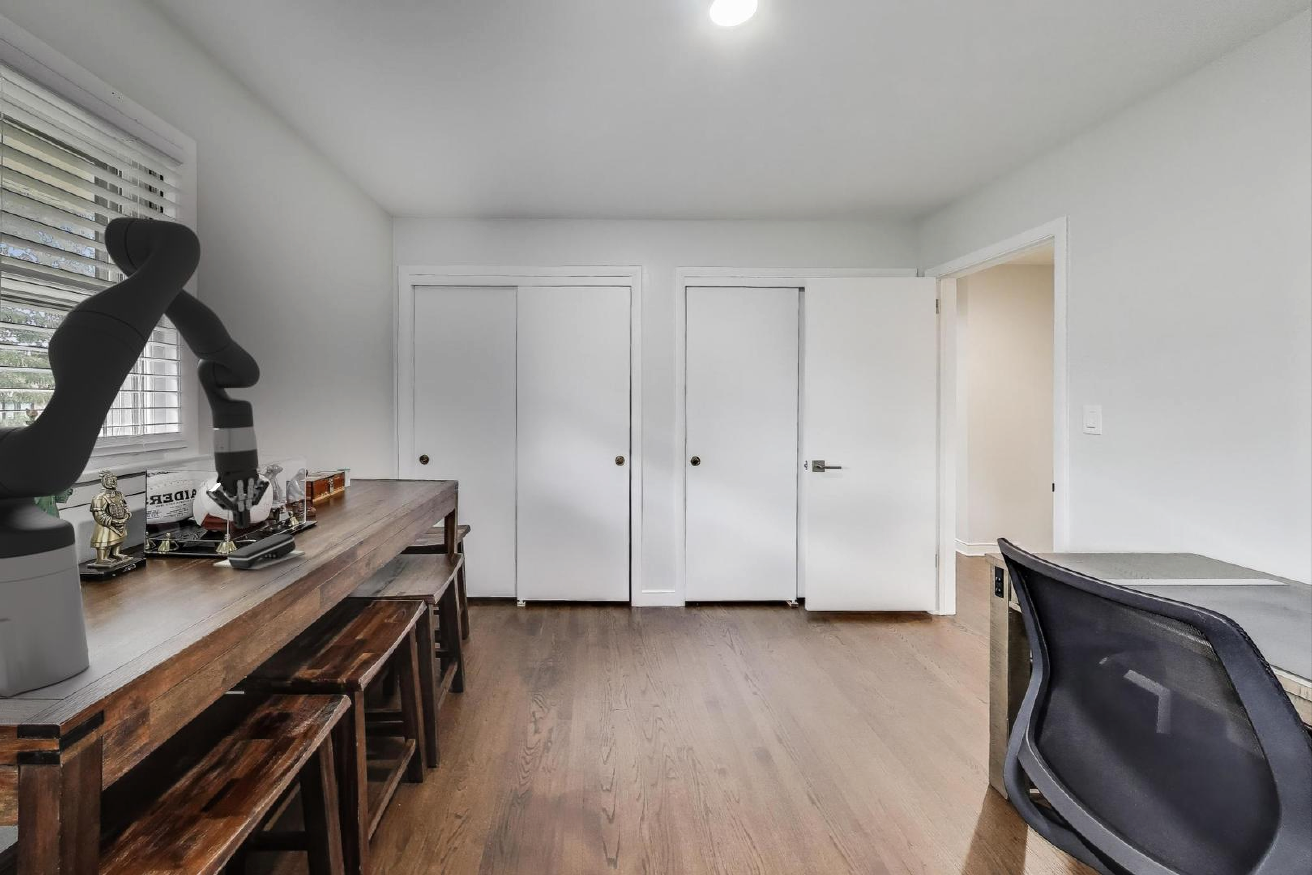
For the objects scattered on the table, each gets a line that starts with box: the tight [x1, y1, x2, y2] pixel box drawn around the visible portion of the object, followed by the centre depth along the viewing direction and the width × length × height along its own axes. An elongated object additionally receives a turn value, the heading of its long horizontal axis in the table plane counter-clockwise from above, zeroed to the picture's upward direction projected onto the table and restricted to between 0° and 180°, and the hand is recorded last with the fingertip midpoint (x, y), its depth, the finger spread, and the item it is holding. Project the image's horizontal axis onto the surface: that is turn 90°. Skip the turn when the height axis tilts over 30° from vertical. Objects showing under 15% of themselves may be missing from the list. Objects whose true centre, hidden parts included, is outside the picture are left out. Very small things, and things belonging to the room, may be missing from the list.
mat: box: [213, 550, 306, 570], centre depth 128 cm, size 12×12×1 cm
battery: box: [226, 533, 296, 570], centre depth 125 cm, size 7×4×11 cm
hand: (242, 527), depth 124 cm, fingers closed
